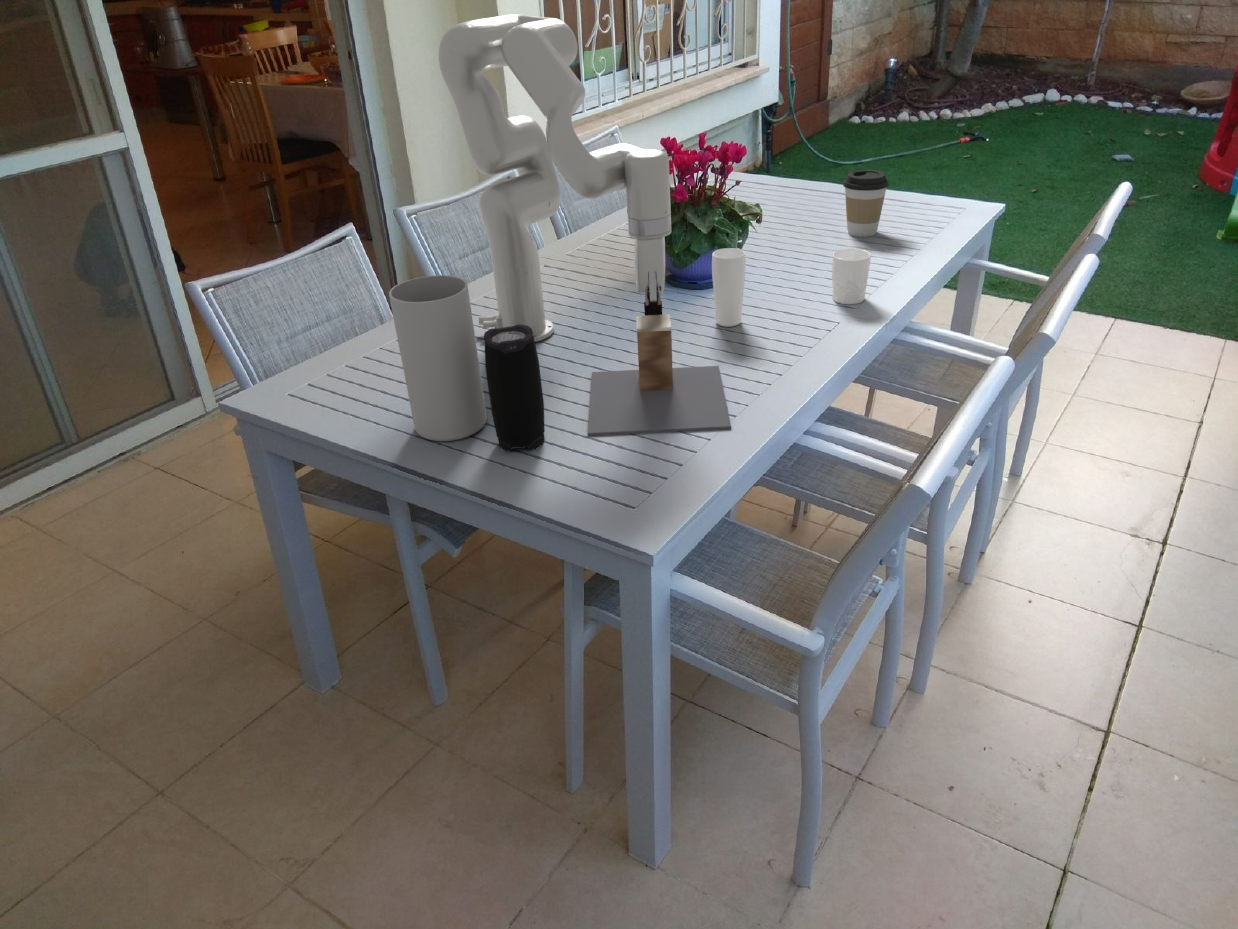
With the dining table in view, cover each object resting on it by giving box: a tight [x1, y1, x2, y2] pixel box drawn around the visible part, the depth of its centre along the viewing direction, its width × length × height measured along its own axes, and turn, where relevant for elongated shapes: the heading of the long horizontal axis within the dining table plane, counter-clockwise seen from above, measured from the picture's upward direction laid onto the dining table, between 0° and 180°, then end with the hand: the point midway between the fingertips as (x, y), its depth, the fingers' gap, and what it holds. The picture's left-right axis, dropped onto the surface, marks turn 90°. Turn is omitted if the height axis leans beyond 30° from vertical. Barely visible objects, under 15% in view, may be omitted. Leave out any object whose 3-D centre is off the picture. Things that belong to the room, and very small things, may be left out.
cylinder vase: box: [388, 274, 488, 442], centre depth 156 cm, size 12×12×25 cm
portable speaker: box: [483, 324, 545, 452], centre depth 150 cm, size 9×9×20 cm
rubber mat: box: [587, 365, 732, 437], centre depth 166 cm, size 24×24×1 cm
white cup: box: [831, 248, 872, 305], centre depth 200 cm, size 8×8×10 cm
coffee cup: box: [842, 169, 890, 238], centre depth 238 cm, size 11×11×15 cm
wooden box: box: [636, 313, 673, 391], centre depth 168 cm, size 6×6×12 cm
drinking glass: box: [711, 247, 747, 328], centre depth 191 cm, size 7×7×15 cm
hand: (653, 323), depth 171 cm, fingers closed
